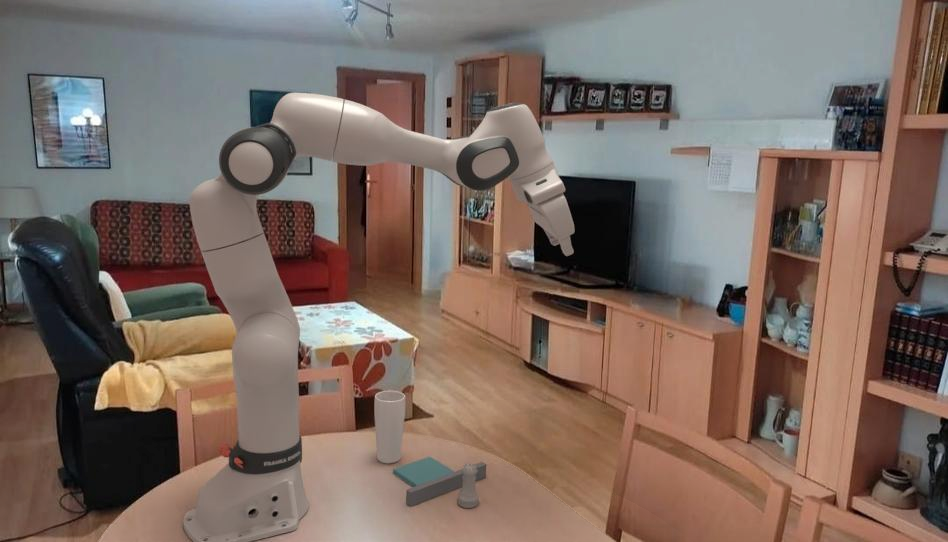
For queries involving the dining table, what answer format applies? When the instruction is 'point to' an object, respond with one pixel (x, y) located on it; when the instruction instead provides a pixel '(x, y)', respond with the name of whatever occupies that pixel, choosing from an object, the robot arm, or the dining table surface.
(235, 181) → the robot arm
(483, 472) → the low wall
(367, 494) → the dining table surface
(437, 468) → the coaster
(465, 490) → the rook chess piece
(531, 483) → the dining table surface
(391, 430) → the drinking glass
